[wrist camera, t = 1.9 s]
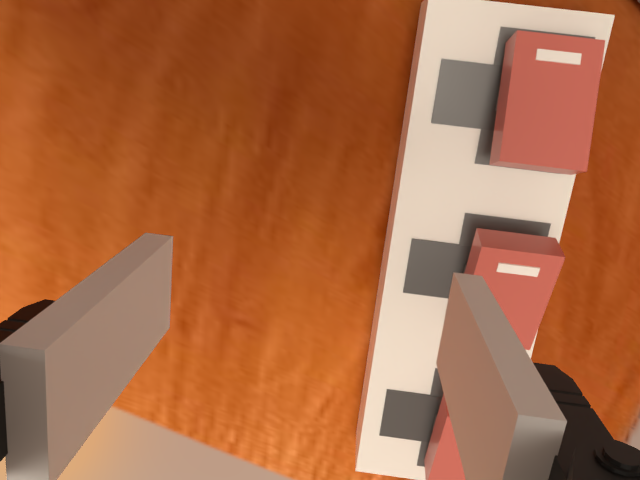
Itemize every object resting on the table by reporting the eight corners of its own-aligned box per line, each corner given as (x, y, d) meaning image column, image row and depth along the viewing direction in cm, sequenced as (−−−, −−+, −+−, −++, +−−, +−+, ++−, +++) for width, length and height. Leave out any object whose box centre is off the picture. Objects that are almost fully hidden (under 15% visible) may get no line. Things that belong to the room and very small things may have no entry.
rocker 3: (476, 228, 29) (482, 247, 27) (555, 237, 29) (565, 258, 27) (451, 318, 32) (455, 341, 31) (523, 328, 32) (530, 351, 31)
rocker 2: (505, 42, 28) (517, 29, 26) (588, 51, 28) (606, 39, 26) (489, 164, 28) (499, 160, 26) (571, 175, 28) (587, 171, 26)
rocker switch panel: (421, 3, 32) (430, -8, 27) (584, 21, 31) (621, 13, 27) (356, 432, 40) (355, 478, 35) (485, 450, 40) (500, 499, 35)
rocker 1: (444, 391, 32) (447, 418, 30) (516, 400, 32) (523, 428, 30) (424, 460, 35) (426, 487, 33) (489, 469, 35) (494, 497, 33)
